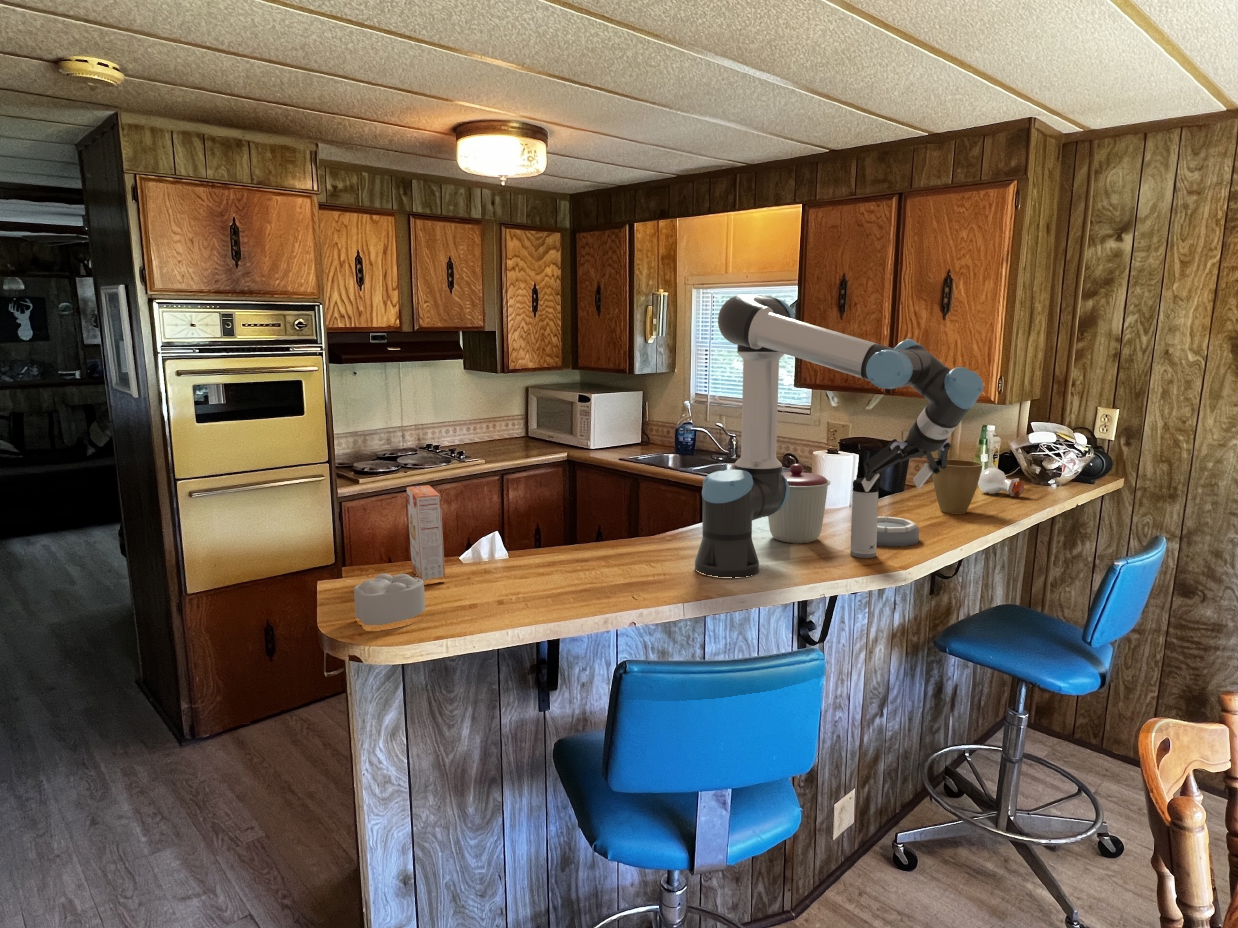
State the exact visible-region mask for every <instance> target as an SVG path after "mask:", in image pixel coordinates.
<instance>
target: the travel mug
mask: <svg viewBox="0 0 1238 928" xmlns="http://www.w3.org/2000/svg"><path fill="white" fill-rule="evenodd" d="M864 478H865V477H862V478H857V479H854V480H853V481H852V489H851V491H852V492H851V493H852V494H851V519H850V520H851V523H850V524H851V525H850V556H852V557H855V558H858V559H873V558H875V557H876V556H877V517H879V516H878V514H879V513H878V511H879V509H878V508H879V482H881V478H880V476H879V477H878V479H877V480H876V481H875V483H874V484H873V486H872V487H871V489H870V490H869V491H868V492H865V489H864V487H863V485H862V481H863V479H864Z"/></svg>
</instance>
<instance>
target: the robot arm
mask: <svg viewBox="0 0 1238 928" xmlns="http://www.w3.org/2000/svg"><path fill="white" fill-rule="evenodd" d="M717 315H718V316H717V325H718V328H719V329H718V330H719V332H720V334H721V335H722V336H723V338H724V339H725V340H727V341H728V342H730V343H731V344H734V345H737V350H736V352H737V355H738V356H740V358H741V359H742V360H743V361H742V364H743V365H742V368H743V369H742V370H743V371H742V397H741V398H742V399H741V400H742V401H741V403H742V405H741V437H740V439H741V445H740V458H738V459H737V460H736V461H735V462H734V469H725V470H717V471H713V472H712V473H709V474H707V476H705V478H704V479H703V482H702V490H701V497H702V499H701V501H702V502H701V504H702V518H701V520H702V523H701V525H702V538H701V542H700V543H699V544H700V545H699V547H698V551H697V554H696V557H695V559H694V560H695V561H694V570H695V569H696V570H697V571H699V572H701V573H704V574H706V575H712V576H718V577H732V578H735V577H745V578H747V577H746V576H750V577H752V576H751V575H753V576H755V575H757V574H758V573H759V572H760V569H759V568H760V561H759V557H758V554H757V552H756V549H755V546H754V542H753V521H754V520H755V521H756V520H758V519H761V518H765V517H768V516H770V515H772V514H774V513H775V512H777V511H779V510H780V509H781V508H782V507H783V506H784V505H785V503H786V501H787V499H788V496H789V484H788V481H787V479H786V478H785V477H784V474H783V464H782V462H780V461H779V459H778V458H777V445H778V444H777V440H778V439H777V437H778V436H777V435H778V408H779V406H778V405H779V404H778V403H779V379H780V378H779V376H780V375H779V374H780V373H779V372H780V360H781V359H782V358H783V356H785V355H787V356H790V357H794V358H797V359H801V360H803V361H806V362H810V363H813V364H816V365H819V366H823V367H826V368H828V369H831V370H836V371H838V372H841V373H844V374H847V375H850V376H854V377H856V378H860V379H863V380H865V381H868V382H870V383H871V384H872V385H874V386H875V387H877V388H880V389H886V390H894V389H898V388H904V387H906V388H907V387H911V388H913V389H914V390H915V391H916V392H918V393H919V395H921V396H922V397H923V398H925V399H926V400H927V401H928V403H927V404H926V405H925V406H924V408H923V410H922V411H921V412H920V413H919V415H918V417H917V419H916V420H915V421H914V423H912V425H911V427H910V428H909V430H908V435H907V438H906V439H905V440H903V441H898V440H897V438H894V439H892V440H890V442H889V443H888V444H887V445H886V446H884V447H883V448H882V449H881V450H880V451H878V452H877V453H875V454H874V455H873V456H871V457H870V458H868V459H867V460H866V461H864V462H863V464H862V465H863V466H864V470H865V471H866V472H865V474H864V477H863V478H864V479H863V481H862V485H863V487H864V489H865V492H868V491H869V490H870V489H871V487H872V486H873V484H874V483H875V481H876V480H877V479H878V477H879V478H880V473H881V472H883V471H885V470H886V469H889V468H891V467H892V466H894V465H896V464H898V463H900V462H906V461H908V460H909V459H915V458H918V459H922V458H923V457H925V458H926V459H927V461H928V462H925V463H924V464H923V465H922V467H921V468H920V469H919V471H918V472H917V473H916V475H915V476H914V477H913V479H912V480H913V483H914V484H915V486H916V488H917V490H918V489H921V488H922V487H923V485H924V484H925V483H926V482H927V480H929V478H930V477H933V475H932V474H933V473H935V474H938V473H940V470H939V468H942V469H945V468H947V460H948V459H949V458H948V455H949V450H950V448H951V447H952V445H951V443H950V441H949V439H948V438H949V437H950V435H951V434H952V433H953V432H954V430H955V429H956V428H957V426H958V425H959V424H960V423H961V421H962V420H963V419H964V418H965V417H966V415H967V414H968V413H969V412H970V410H972V407H974V406H975V405H976V403H977V400H978V399H979V397H980V396H981V394H982V393H983V390H984V382H983V379H982V377H981V376H980V375H979V374H978V373H977V372H976V371H974V370H969V369H968V368H967V367H962V366H957V367H954V368H952V369H950V368H949V367H947V366H946V365H945V364H944V363H943V362H941V361H940V360H939V359H938V358H937V357H936V356H934V354H932V353H931V352H930V351H928V350H927V349H926V348H925V347H924V346H923V345H921V344H919V343H918V342H917V341H915V340H914V339H912V338H907V339H904V340H903V341H901V342H899V343H898V344H897V345H896V346H895V347H892V346H891V347H890V346H887V345H884V344H879V343H876V342H872V341H870V340H866V339H863V338H858V337H855V336H852V335H849V334H844V333H842V332H838V331H835V330H831V329H829V328H824V327H822V326H821V327H820V326H817V325H813V324H810V323H808V322H803V321H800V320H797V319H795V318H796V317H795V313H794V312H793V310H792V308H791V306H790V305H789V304H788V303H787V302H786V301H785V300H783V299H780V298H778V297H774V296H771V295H753V294H747V293H746V294H737V295H734V296H732V297H730V298H729V299H727V300H726V301H725V302H724V303H723V305H722V306H721V308H720V310H719V312H718V314H717ZM902 450H903V452H904V454H905V455H904V454H903V452H902ZM933 452H934V453H935V452H937V458H936V459H935V458H934V456H933V454H932V453H933ZM935 460H938V461H935ZM696 570H695V571H696Z"/></svg>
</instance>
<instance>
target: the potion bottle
mask: <svg viewBox="0 0 1238 928" xmlns="http://www.w3.org/2000/svg"><path fill="white" fill-rule="evenodd" d="M977 486H978V487H979V489H980V491H982V492H984V493H985V492H986V493H985V494H987V493H998V494H999V493H1001V492H1002V491H1004V492H1006V493H1008V494H1009V495H1010V496H1011V497H1012V496H1013V497H1014V496H1016V498H1017V497H1018V498H1020V496H1021V494H1023V492H1024V491H1025V481H1024V480H1021V481H1020V478H1019V477H1018V478H1012V479H1009V478H1007V477H1006V474H1005V472H1004V471H1002V470H1001V469H999V468H998V467H987V468H986V469H984V470H983V471H982V470H981V474H980V478H979V482H978V485H977Z"/></svg>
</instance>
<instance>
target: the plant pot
mask: <svg viewBox="0 0 1238 928" xmlns="http://www.w3.org/2000/svg"><path fill="white" fill-rule="evenodd" d="M934 460H935V461H938V460H937V459H934ZM983 466H984V465H983V463H982V462H979V461H974V460H966V459H965V460H964V459H947V468H945V469H942V468H939V470H940V473H938V474H935V473H933V474H932V480H933V486H934V492H935V496H936V500H937V503H938V507H939V509H940V512H942V511H943V512H942V513H945V512H946V513H945V514H950V513H953V514H952V515H964V514H966V513H967V511H968V510H969V507H970V506H971V503H972V501H973V498H974V496H975V493H976V491H977V488H978V486H979V485H978V482H979V478H980V474H981V473H982V469H983Z"/></svg>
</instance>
